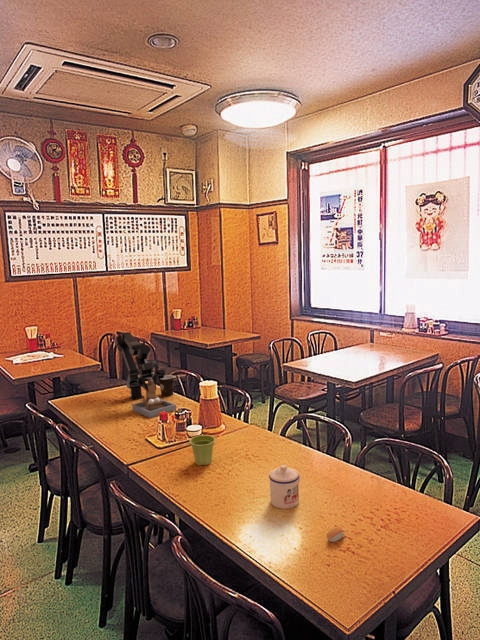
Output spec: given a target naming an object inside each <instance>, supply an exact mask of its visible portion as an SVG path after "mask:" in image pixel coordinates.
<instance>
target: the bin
mask: <svg viewBox="0 0 480 640" xmlns="http://www.w3.org/2000/svg"><path fill="white" fill-rule="evenodd" d="M160 399H161V400H162V401H163V403H164V407H161V408H157V409H152V410H148V409H147V408H146V406H145V405H144V404H143V401H140V402H136V403H133V404H131V408H132V411H133V412H135V413H136V414H140V415H142V416H144V417H146V418H149V419H151V418H155V417H158V415H159V413H160V412H163V411H165V412H169V413H172V412H171V411H173V412H175V411H174V410H176V411H177V404H175V403H172V402H170V401H168V400H165V399H162V398H160ZM159 416H160V415H159Z"/></svg>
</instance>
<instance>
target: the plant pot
mask: <svg viewBox="0 0 480 640" xmlns="http://www.w3.org/2000/svg"><path fill="white" fill-rule="evenodd" d="M215 442H216V437H214V436H213V435H208V434H201V435H195V436H193V437H191V438H190V439H189V443H190V446H191V448H192V453H193V459H194V463H195V464H196V465H198V466H207V465H210V464H211V463H212V461H213V451H214V444H215Z"/></svg>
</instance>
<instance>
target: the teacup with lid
mask: <svg viewBox="0 0 480 640" xmlns="http://www.w3.org/2000/svg"><path fill="white" fill-rule="evenodd" d="M268 478H269V489H270V492H269V493H270V503H271V505H272V506H273V507H275V508H277V509H281V510H282V509H283V510H286V509H287V510H288V509H289V510H290V509H292V508H295V507H296V506H298V504H299V502H300V495H299V493H300V492H299V483H300V479H301V478H300V473H298V471H297V470H295V469H294V468H291V467H287V465H285V464H282V465H280V467H277V468H275V469H272V470H271V471H270V472H269V475H268Z"/></svg>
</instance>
